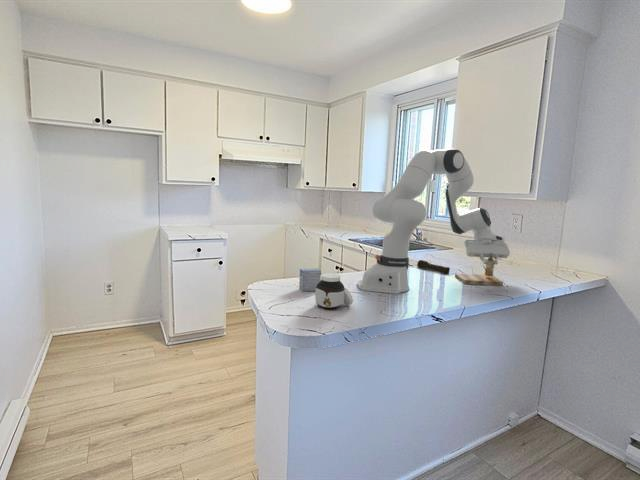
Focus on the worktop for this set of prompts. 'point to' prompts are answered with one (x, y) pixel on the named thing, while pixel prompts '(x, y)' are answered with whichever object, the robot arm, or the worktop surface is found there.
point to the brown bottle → (489, 266)
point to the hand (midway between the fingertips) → (490, 263)
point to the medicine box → (309, 279)
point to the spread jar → (332, 292)
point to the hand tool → (432, 267)
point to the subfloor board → (478, 279)
